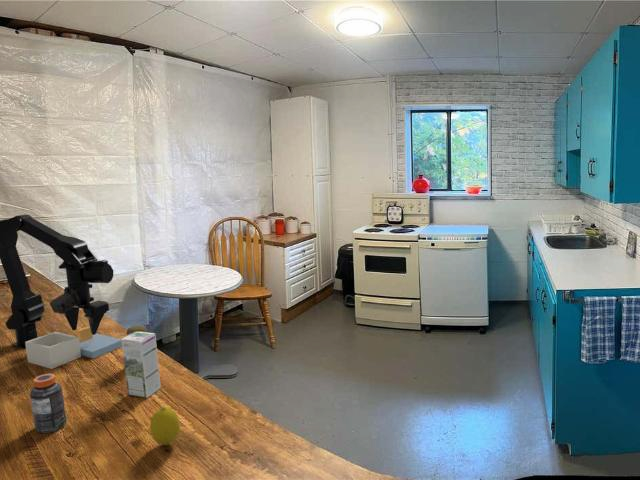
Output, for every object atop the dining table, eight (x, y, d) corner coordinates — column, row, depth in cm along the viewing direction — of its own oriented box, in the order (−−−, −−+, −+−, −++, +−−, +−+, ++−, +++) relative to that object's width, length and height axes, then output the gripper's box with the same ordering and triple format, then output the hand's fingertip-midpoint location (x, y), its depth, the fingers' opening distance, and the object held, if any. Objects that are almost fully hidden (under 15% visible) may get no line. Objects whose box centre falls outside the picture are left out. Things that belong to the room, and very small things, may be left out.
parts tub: (27, 362, 141) (25, 342, 140) (57, 350, 149) (55, 331, 148) (51, 368, 136) (48, 348, 135) (81, 356, 143) (78, 337, 142)
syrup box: (161, 387, 122) (156, 331, 120) (146, 399, 117) (140, 340, 114) (142, 385, 124) (137, 329, 121) (126, 396, 118) (120, 338, 116)
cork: (144, 369, 133) (140, 330, 131) (123, 368, 134) (119, 330, 132) (155, 360, 139) (152, 323, 137) (136, 359, 140) (132, 322, 138)
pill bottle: (59, 416, 110) (53, 368, 108) (71, 424, 106) (65, 375, 104) (30, 428, 106) (23, 378, 104) (42, 437, 102) (35, 386, 100)
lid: (67, 351, 148) (64, 333, 147) (97, 339, 157) (95, 322, 156) (93, 358, 142) (91, 340, 141) (123, 345, 151) (121, 328, 150)
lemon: (156, 438, 100) (152, 401, 99) (183, 435, 101) (180, 399, 99) (149, 454, 95) (145, 415, 93) (178, 451, 95) (175, 413, 94)
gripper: (33, 286, 146) (40, 336, 148) (73, 292, 137) (79, 346, 139) (67, 277, 155) (73, 324, 158) (107, 283, 146) (113, 333, 149)
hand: (84, 332), depth 151 cm, fingers open, 9 cm apart
